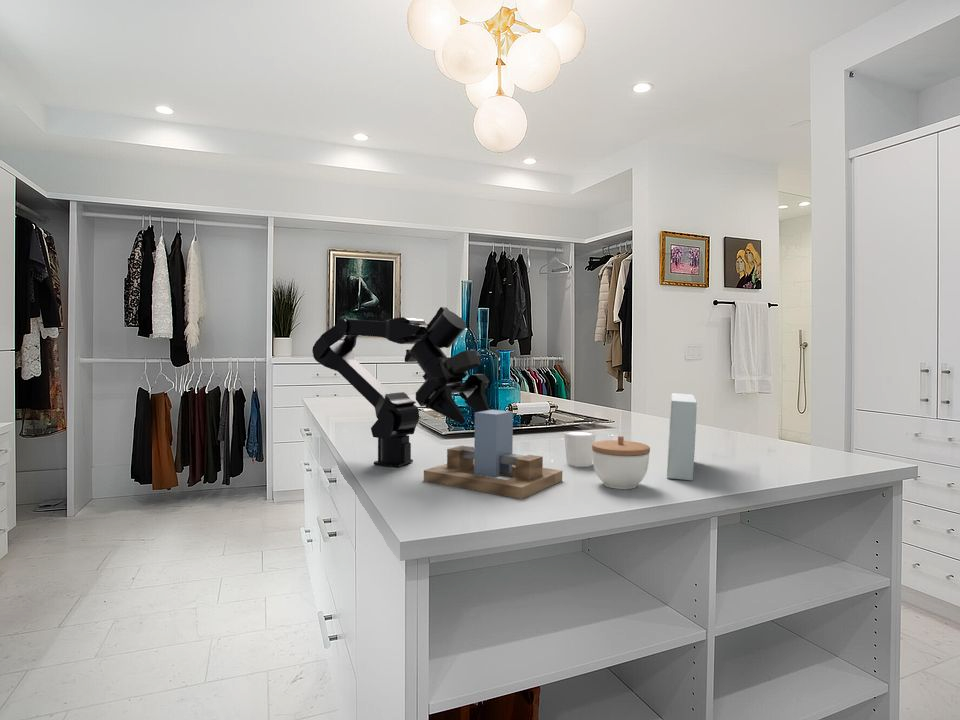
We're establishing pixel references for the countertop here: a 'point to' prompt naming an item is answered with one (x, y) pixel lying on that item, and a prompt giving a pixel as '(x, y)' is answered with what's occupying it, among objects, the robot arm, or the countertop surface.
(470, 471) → the wooden block stand
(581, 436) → the white cup
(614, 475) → the lidded jar
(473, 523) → the countertop surface
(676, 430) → the skincare box
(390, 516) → the countertop surface
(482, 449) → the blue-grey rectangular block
